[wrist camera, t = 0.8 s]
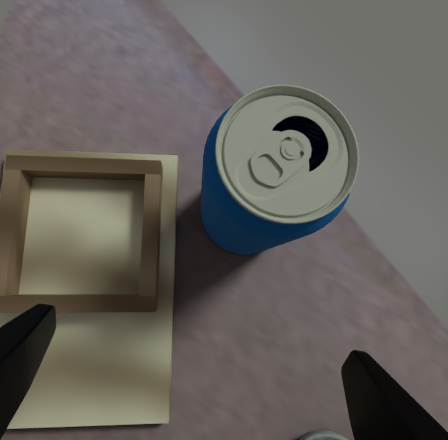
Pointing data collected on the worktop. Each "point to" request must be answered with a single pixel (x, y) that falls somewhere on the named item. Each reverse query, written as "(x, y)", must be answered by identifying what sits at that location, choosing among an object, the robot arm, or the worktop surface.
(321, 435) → the ceramic mug
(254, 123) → the beverage can
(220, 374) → the worktop surface
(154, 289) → the can holder
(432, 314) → the worktop surface
